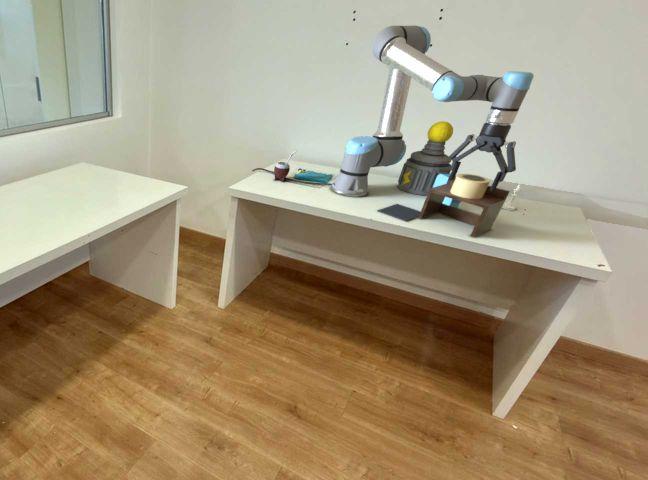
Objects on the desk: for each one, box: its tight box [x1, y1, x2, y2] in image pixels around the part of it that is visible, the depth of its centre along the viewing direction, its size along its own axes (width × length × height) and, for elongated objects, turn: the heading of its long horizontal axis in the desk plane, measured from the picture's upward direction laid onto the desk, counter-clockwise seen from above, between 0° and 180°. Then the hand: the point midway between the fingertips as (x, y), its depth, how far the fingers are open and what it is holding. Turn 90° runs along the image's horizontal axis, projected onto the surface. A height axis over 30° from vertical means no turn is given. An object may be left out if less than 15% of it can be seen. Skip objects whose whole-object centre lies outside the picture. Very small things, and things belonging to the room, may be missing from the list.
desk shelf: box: [417, 176, 511, 238], centre depth 152 cm, size 20×13×15 cm, turn 32°
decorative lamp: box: [397, 120, 454, 197], centre depth 181 cm, size 19×19×30 cm
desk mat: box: [377, 203, 421, 222], centre depth 165 cm, size 12×14×1 cm
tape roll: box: [450, 173, 491, 199], centre depth 148 cm, size 10×10×6 cm
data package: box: [433, 173, 462, 208], centre depth 169 cm, size 12×4×12 cm, turn 6°
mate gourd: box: [273, 149, 299, 183], centre depth 194 cm, size 8×8×15 cm
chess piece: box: [501, 184, 521, 211], centre depth 168 cm, size 5×5×10 cm
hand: (470, 184), depth 147 cm, fingers open, 13 cm apart
